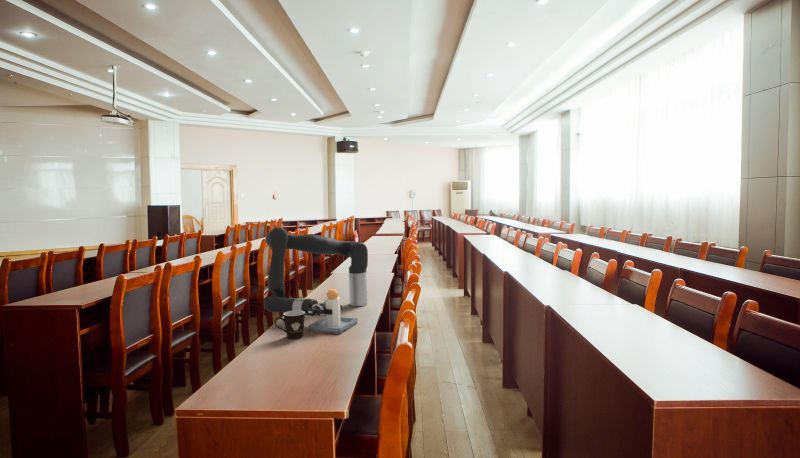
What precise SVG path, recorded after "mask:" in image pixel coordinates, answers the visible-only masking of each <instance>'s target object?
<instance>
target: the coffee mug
mask: <svg viewBox="0 0 800 458" xmlns="http://www.w3.org/2000/svg"><path fill="white" fill-rule="evenodd" d="M305 318H306V316H305V311H301V310H294V311H288V312H283V317H277V318H275V319H274V325H275V327H276V328H278V330H281V331H283V332H285V333H286V338H287V339H288V340H300V339H302V338H303V337H304V329H305ZM278 320H282V321H283V323H284V324H285V325H284V326H285V329H284V328H282V327H280V326H279V325H277V321H278Z"/></svg>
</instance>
